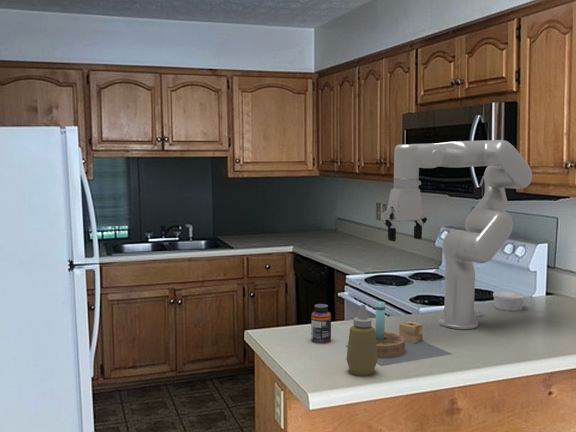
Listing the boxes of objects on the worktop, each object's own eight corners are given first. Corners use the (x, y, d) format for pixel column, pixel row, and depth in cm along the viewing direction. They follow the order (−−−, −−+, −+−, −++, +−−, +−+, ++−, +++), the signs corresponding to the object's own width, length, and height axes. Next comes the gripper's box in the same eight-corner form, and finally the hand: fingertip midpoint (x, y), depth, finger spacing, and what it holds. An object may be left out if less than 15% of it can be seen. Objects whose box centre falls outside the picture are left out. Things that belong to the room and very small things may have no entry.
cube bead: (408, 336, 192) (408, 320, 192) (422, 340, 189) (422, 324, 188) (399, 340, 189) (399, 323, 188) (413, 343, 185) (413, 327, 185)
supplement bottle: (320, 337, 192) (320, 301, 191) (335, 341, 188) (335, 305, 187) (307, 341, 188) (307, 305, 187) (321, 346, 184) (322, 308, 183)
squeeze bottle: (355, 380, 156) (357, 310, 154) (340, 370, 164) (341, 303, 162) (383, 375, 159) (384, 307, 158) (367, 365, 167) (368, 300, 165)
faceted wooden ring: (385, 340, 188) (386, 329, 188) (413, 353, 176) (414, 341, 175) (345, 346, 182) (346, 334, 182) (371, 360, 170) (372, 348, 169)
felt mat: (411, 337, 193) (411, 336, 193) (452, 355, 176) (452, 353, 176) (345, 347, 183) (345, 345, 183) (381, 367, 166) (381, 365, 166)
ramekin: (530, 311, 226) (531, 297, 226) (503, 313, 223) (504, 298, 223) (513, 304, 237) (513, 290, 236) (486, 305, 234) (487, 291, 234)
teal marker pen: (380, 348, 181) (381, 301, 179) (386, 350, 178) (387, 303, 177) (372, 349, 180) (373, 301, 178) (378, 352, 177) (379, 304, 176)
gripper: (421, 183, 198) (420, 236, 200) (375, 184, 191) (374, 239, 192) (436, 184, 191) (435, 239, 193) (389, 185, 184) (388, 243, 186)
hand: (404, 239), depth 193 cm, fingers open, 9 cm apart
